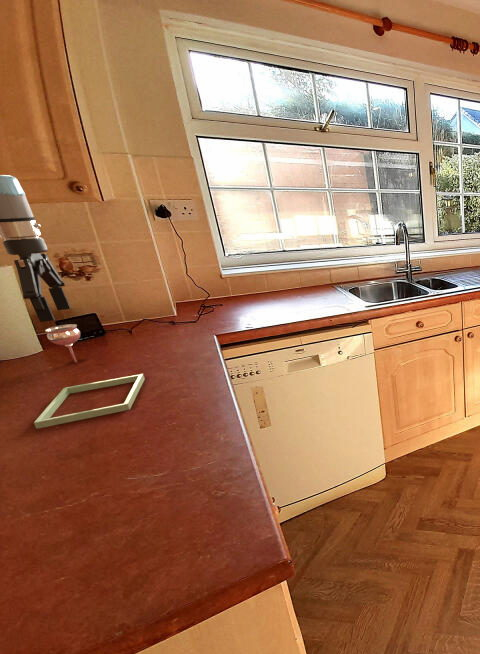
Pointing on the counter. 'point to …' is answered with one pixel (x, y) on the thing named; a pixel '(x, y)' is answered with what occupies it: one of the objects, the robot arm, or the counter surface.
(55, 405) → the green rectangular frame
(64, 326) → the wineglass
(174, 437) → the counter surface
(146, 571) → the counter surface
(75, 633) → the counter surface
